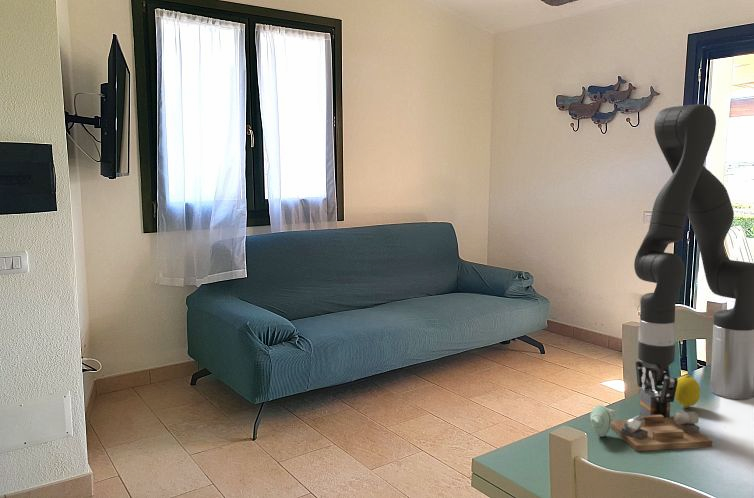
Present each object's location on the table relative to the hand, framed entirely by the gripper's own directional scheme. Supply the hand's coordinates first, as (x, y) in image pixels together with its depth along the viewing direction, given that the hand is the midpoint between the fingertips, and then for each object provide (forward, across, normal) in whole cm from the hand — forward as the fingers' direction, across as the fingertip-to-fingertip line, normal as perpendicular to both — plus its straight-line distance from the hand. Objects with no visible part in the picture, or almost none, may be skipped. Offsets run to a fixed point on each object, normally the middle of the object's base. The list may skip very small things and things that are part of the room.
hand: (654, 412), depth 134 cm
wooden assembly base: (+1, -9, +4) cm, 10 cm away
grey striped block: (+1, 0, 0) cm, 1 cm away
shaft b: (0, -10, +10) cm, 14 cm away
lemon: (+1, +4, -10) cm, 11 cm away
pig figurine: (+2, -7, +16) cm, 18 cm away
